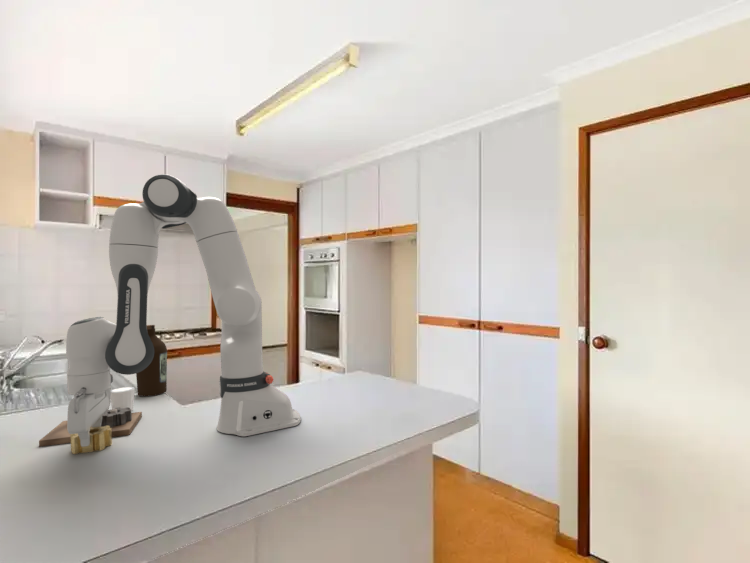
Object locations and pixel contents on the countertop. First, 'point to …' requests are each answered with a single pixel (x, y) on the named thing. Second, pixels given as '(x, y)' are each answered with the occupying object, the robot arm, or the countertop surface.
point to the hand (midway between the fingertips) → (91, 439)
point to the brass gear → (93, 440)
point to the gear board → (65, 436)
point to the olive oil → (154, 369)
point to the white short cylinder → (122, 397)
